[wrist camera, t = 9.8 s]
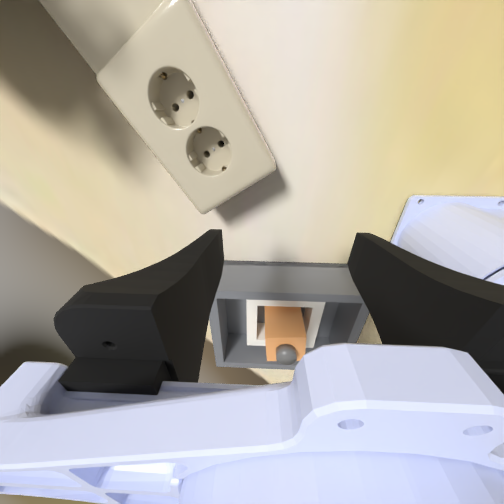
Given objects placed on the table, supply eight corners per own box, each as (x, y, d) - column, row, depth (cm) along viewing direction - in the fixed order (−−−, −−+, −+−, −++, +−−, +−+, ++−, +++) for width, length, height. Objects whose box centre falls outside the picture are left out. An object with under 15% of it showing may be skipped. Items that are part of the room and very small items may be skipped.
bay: (356, 264, 24) (376, 295, 20) (332, 336, 31) (343, 371, 27) (214, 260, 25) (205, 290, 20) (222, 332, 32) (216, 366, 27)
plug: (296, 316, 28) (306, 370, 22) (266, 316, 28) (267, 370, 22) (297, 293, 26) (308, 346, 20) (264, 294, 26) (265, 347, 20)
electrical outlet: (36, -286, 8) (278, 170, 16) (106, -162, 11) (275, 160, 19) (-47, -96, 10) (201, 217, 18) (33, -42, 13) (211, 200, 21)
